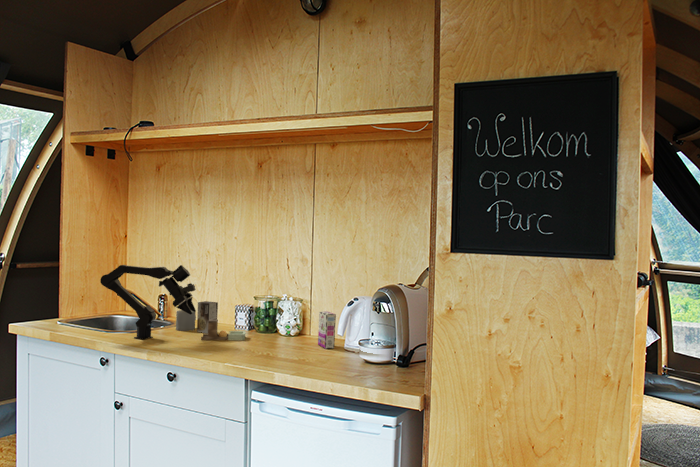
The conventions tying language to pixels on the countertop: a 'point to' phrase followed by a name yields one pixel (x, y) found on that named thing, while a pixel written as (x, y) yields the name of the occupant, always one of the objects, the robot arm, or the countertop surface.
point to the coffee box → (206, 315)
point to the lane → (205, 337)
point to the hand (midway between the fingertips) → (193, 312)
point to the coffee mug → (185, 321)
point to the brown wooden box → (212, 327)
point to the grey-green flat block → (236, 335)
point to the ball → (222, 334)
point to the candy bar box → (326, 330)
